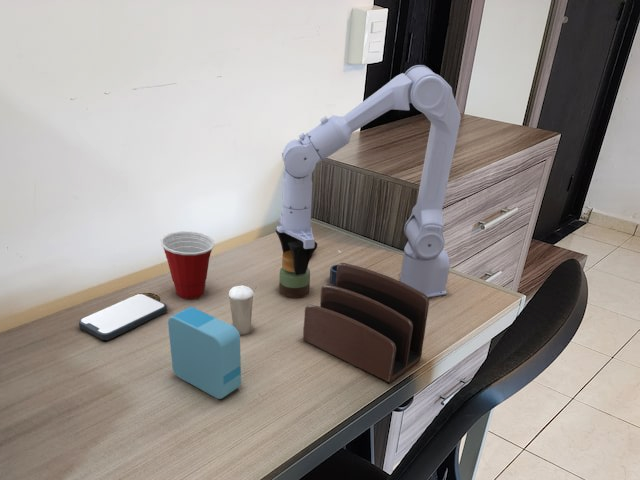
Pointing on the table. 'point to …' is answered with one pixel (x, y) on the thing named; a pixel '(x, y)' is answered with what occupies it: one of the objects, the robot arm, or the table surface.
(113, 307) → the smartphone
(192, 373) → the data package
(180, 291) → the plastic cup
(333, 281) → the small cup
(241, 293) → the milkshake
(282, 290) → the walnut chip
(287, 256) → the orange short cylinder
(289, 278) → the sage chip
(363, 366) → the letter holder
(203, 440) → the table surface
